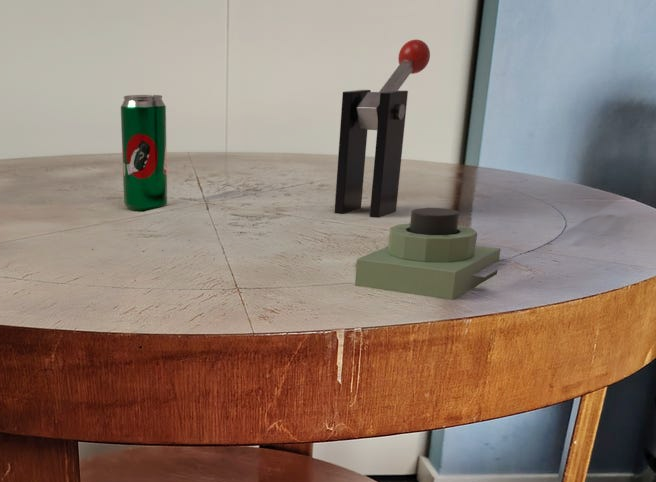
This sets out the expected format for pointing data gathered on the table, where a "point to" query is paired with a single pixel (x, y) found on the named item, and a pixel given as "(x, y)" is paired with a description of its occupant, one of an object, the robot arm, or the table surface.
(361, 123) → the lever
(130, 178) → the soda can
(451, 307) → the table surface
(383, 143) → the bracket
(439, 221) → the button
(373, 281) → the control block
